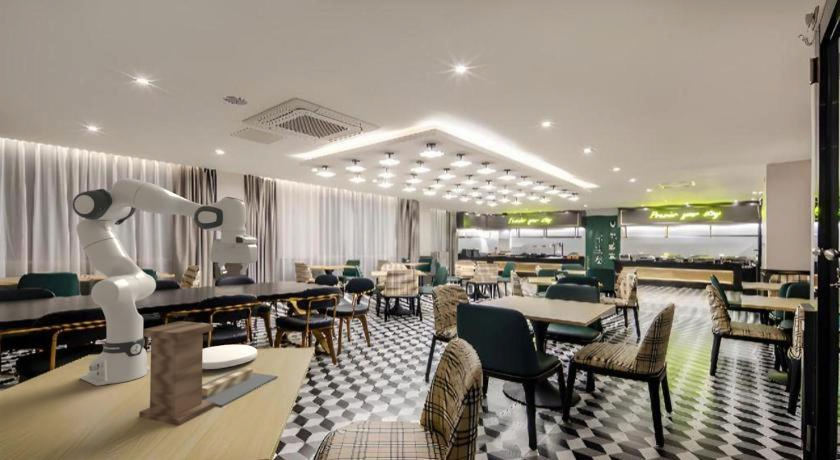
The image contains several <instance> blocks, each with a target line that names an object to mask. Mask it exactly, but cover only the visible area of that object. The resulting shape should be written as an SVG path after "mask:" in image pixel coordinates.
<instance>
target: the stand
mask: <svg viewBox="0 0 840 460" xmlns="http://www.w3.org/2000/svg"><path fill="white" fill-rule="evenodd" d="M213 331H214V324H213V323H206V322H205V323H204V322H195V321H194V322H193V321H183V320H179V321H175V322H174V321H173V322H169V323H166V324H161V325H157V326H156V325H155V326H153V327H148V328H147V327H146V328H143V337H147V338H151V339H150V380H149V381H150V385H149V389H150V390H149V397H150V398H149V407H147V408H145V409H142V410H140V411H138V412H139V413H138V417H139V418H143V419H147V420H151V421H157V422H161V423H166V424H171V425H175V426H181V425H183V424H185V423H187V422H189V421H191V420H193V419H195V418H197V417H199V416H200V415H202V414H204V413H206V412H208V411H210V410H212V409H214V408H215V403H214V402H209V401H203V400H202V385H203V369H202V354H203V349H204V347H203V343H204V342H203V341H204V340H203V339H204V338H203V337H204V335H203V334H206V333H210V332H213Z"/></svg>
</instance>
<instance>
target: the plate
mask: <svg viewBox="0 0 840 460" xmlns="http://www.w3.org/2000/svg"><path fill="white" fill-rule="evenodd" d="M257 357H258V349H257V348H256V347H254V346H251V345H247V344H224V345H218V346H217V345H215V346H209V347H205V348H203V354H202V370H217V369H224V368H229V367H234V366H237V365H241V364H245V363H248V362H250V361H252V360H254V359H256V358H257Z"/></svg>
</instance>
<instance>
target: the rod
mask: <svg viewBox="0 0 840 460" xmlns="http://www.w3.org/2000/svg"><path fill="white" fill-rule="evenodd" d="M253 373H254V369H253V368H250V367H245V368H244V369H241V370H238V372H236V373H234V374H231V375H229V376H227V377H224V378H222V379H220V380H217V381H215V382H213V383H210V384H208V385H206V386H203V387H202V397H204V398H209V397H211V396H213V395H215V394H217V393H219V392H221V391H223V390H226V389H228V388H230V387H232V386H234V385H236V384H238V383H240V382H243V381H245V380H247V379H249V378H251V377H253Z"/></svg>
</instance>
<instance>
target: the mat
mask: <svg viewBox="0 0 840 460" xmlns="http://www.w3.org/2000/svg"><path fill="white" fill-rule="evenodd" d="M238 371H239V370H238V369H236V370H232V371H230V372H228V373H225V374H223V375H221V376H219V377H216V378H215V379H212V380H209V381H207V382H205V383H202V387H203V386H206V385H208V384H210V383H213V382H215V381H217V380H220V379H222V378H224V377H227V376H229V375H231V374H234V373H236V372H238ZM276 379H279V378H278V375H272V374H264V373H258V372H253V377H251V378H249V379H247V380H245V381H243V382H240V383H238V384H236V385H234V386H232V387H230V388H228V389H226V390H223V391H221V392H219V393H217V394H215V395H213V396H211V397H209V398H204V397H202V400H203V401H209V402H214V403H215V406H216V407H220V408H221V407H222V408H223V407H225V406H227V405H228V404H230V403H233V402H234V401H236V400H238V399H240V398H242V397H243V396H245V395H248V394H250V393H252V392H253V391H255V390H257V389H259V388H261V387H262V386H261V385H263V384H265V385H266V383H267V384H268V383H270V382H272V381H275V380H276ZM271 380H272V381H271ZM260 386H261V387H260ZM263 386H264V385H263ZM258 387H259V388H258ZM256 388H257V389H256ZM254 389H255V390H254ZM252 390H253V391H252ZM247 393H248V394H247Z"/></svg>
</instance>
